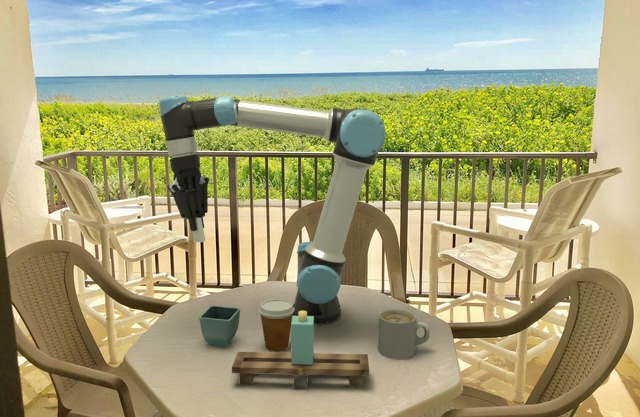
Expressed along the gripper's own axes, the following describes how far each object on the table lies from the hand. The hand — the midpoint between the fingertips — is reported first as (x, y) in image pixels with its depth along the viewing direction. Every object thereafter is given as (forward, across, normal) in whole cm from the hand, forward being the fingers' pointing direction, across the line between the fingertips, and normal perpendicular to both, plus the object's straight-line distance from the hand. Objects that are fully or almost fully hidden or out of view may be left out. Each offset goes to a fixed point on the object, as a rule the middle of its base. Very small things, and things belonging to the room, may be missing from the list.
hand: (200, 241), depth 155 cm
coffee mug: (+37, -24, +44) cm, 62 cm away
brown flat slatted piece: (+34, +4, +31) cm, 46 cm away
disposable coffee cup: (+31, -6, +15) cm, 35 cm away
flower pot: (+29, +1, +2) cm, 29 cm away
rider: (+30, +4, +32) cm, 44 cm away
